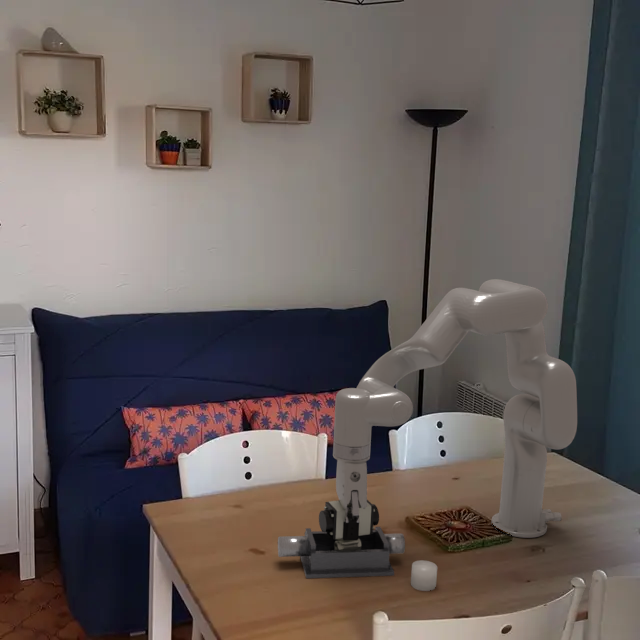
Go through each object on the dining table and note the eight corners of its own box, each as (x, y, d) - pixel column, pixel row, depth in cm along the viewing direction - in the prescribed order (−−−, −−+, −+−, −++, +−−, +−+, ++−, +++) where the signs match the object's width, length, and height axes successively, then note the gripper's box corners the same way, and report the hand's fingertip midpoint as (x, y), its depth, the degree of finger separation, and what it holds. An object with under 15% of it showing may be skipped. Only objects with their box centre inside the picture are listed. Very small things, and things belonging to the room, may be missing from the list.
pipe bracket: (394, 548, 182) (396, 522, 181) (408, 574, 170) (410, 547, 169) (275, 551, 178) (276, 524, 177) (281, 579, 166) (282, 551, 165)
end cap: (431, 578, 170) (433, 560, 169) (439, 590, 165) (440, 572, 164) (407, 579, 169) (409, 560, 168) (414, 591, 164) (415, 572, 163)
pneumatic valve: (377, 554, 174) (380, 499, 171) (325, 562, 169) (327, 506, 167) (366, 542, 179) (369, 489, 176) (315, 550, 174) (317, 495, 172)
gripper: (379, 464, 162) (374, 551, 165) (361, 435, 179) (357, 515, 182) (340, 465, 161) (336, 553, 164) (326, 436, 177) (323, 516, 181)
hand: (347, 532), depth 173 cm, fingers closed on pneumatic valve, 5 cm apart
